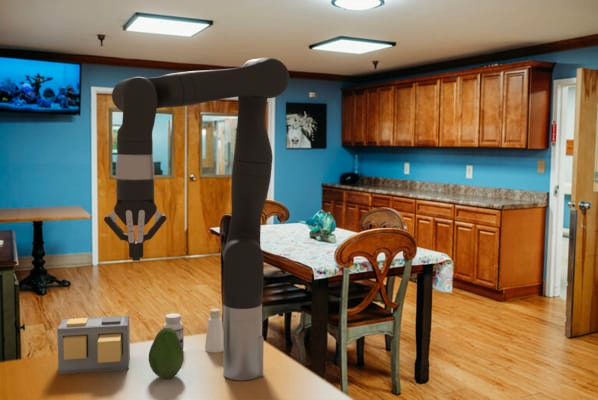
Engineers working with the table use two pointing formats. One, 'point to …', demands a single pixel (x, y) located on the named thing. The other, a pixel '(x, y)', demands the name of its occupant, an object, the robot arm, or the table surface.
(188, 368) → the table surface
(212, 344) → the pepper shaker
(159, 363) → the fruit
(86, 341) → the button
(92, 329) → the console
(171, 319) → the pill bottle
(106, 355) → the button
